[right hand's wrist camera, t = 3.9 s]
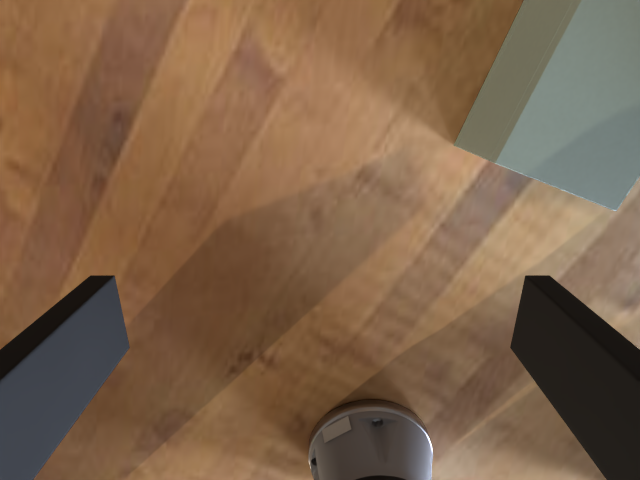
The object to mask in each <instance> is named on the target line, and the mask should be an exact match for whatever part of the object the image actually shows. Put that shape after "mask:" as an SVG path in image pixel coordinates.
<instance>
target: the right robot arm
mask: <svg viewBox="0 0 640 480" xmlns="http://www.w3.org/2000/svg"><path fill="white" fill-rule="evenodd" d="M129 348H130V347H129V342H128V337H127V333H126V328H125V323H124V318H123V314H122V309H121V304H120V299H119V294H118V290H117V285H116V280H115V276H89V277H88V278H87V279H86V280H85V281H83V282H82V283H81V284H80V285H79V286H77V287H76V288H75V289H74V290H72V291H71V292H70V293H69V294H68V295H66V296H65V297H64V298H63V299H62V300H60V301H59V302H58V303H57V304H55V305H54V306H53V307H52V308H51V309H49V310H48V311H47V312H46V313H44V314H43V315H42V316H41V317H40V318H38V319H37V320H36V321H35V322H34V323H32V324H31V325H30V326H29V327H27V328H26V329H25V330H24V331H23V332H21V333H20V334H19V335H18V336H16V337H15V338H14V339H13V340H12V341H10V342H9V343H8V344H7V345H6V346H4V347H3V348H2V349H1V350H0V480H33V479H34V478H35V476H36V475H37V474H38V472H39V471H40V470H41V468H42V467H43V465H44V464H45V463H46V461H47V460H48V459H49V457H50V456H51V454H52V453H53V452H54V450H55V449H56V448H57V446H58V445H59V444H60V442H61V441H62V439H63V438H64V437H65V435H66V434H67V433H68V431H69V430H70V428H71V427H72V426H73V424H74V423H75V422H76V420H77V419H78V418H79V416H80V415H81V413H82V412H83V411H84V409H85V408H86V407H87V405H88V404H89V402H90V401H91V400H92V398H93V397H94V396H95V394H96V393H97V392H98V390H99V389H100V387H101V386H102V385H103V383H104V382H105V381H106V379H107V378H108V376H109V375H110V374H111V372H112V371H113V370H114V368H115V367H116V366H117V364H118V363H119V361H120V360H121V359H122V357H123V356H124V355H125V353H126V352H127V350H128V349H129ZM510 348H511V349H512V350H513V352H514V353H515V355H516V356H517V357H518V359H519V360H520V361H521V363H522V364H523V366H524V367H525V368H526V370H527V371H528V372H529V374H530V375H531V376H532V378H533V379H534V381H535V382H536V383H537V385H538V386H539V387H540V389H541V390H542V392H543V393H544V394H545V396H546V397H547V398H548V400H549V401H550V402H551V404H552V405H553V407H554V408H555V409H556V411H557V412H558V413H559V415H560V416H561V418H562V419H563V420H564V422H565V423H566V424H567V426H568V427H569V428H570V430H571V431H572V433H573V434H574V435H575V437H576V438H577V439H578V441H579V442H580V444H581V445H582V446H583V448H584V449H585V450H586V452H587V453H588V454H589V456H590V457H591V459H592V460H593V461H594V463H595V464H596V465H597V467H598V468H599V470H600V471H601V472H602V474H603V475H604V476H605V478H606V479H607V480H640V350H639V349H638V348H637V347H636V346H634V345H633V344H632V343H631V342H630V341H628V340H627V339H626V338H625V337H624V336H622V335H621V334H620V333H619V332H617V331H616V330H615V329H614V328H613V327H611V326H610V325H609V324H608V323H606V322H605V321H604V320H603V319H602V318H600V317H599V316H598V315H597V314H596V313H594V312H593V311H592V310H591V309H589V308H588V307H587V306H586V305H585V304H583V303H582V302H581V301H580V300H578V299H577V298H576V297H575V296H574V295H572V294H571V293H570V292H569V291H568V290H566V289H565V288H564V287H563V286H561V285H560V284H559V283H558V282H557V281H555V280H554V279H553V278H552V277H551V276H525V280H524V285H523V290H522V294H521V299H520V304H519V309H518V314H517V318H516V323H515V328H514V333H513V337H512V342H511V347H510ZM432 455H433V452H432V446H431V442H430V439H429V436H428V432H427V430H426V427H425V426H424V424H423V423H422V421H421V420H420V419H419V418H418V417H417V416H416V415H415V414H414V413H413V412H411V411H410V410H408V409H407V408H405V407H403V406H400V405H398V404H395V403H392V402H388V401H381V400H362V401H356V402H351V403H348V404H345V405H342V406H340V407H338V408H336V409H334V410H332V411H331V412H329V413H328V414H327V415H325V416H324V417H323V418H322V419H321V420H320V421H319V422H318V423H317V425H316V426H315V428H314V430H313V431H312V434H311V437H310V441H309V465H310V469H311V472H312V475H313V478H314V480H431V472H432Z"/></svg>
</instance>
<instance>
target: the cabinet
mask: <svg viewBox="0 0 640 480" xmlns="http://www.w3.org/2000/svg"><path fill="white" fill-rule="evenodd" d="M454 146H456V147H458V148H461V149H463V150H465V151H467V152H470V153H472V154H474V155H477V156H479V157H481V158H484V159H486V160H488V161H491V162H493V163H495V164H498V165H500V166H503V167H505V168H508V169H510V170H513V171H516V172H518V173H521V174H523V175H526V176H528V177H531V178H533V179H536V180H538V181H541V182H543V183H546V184H548V185H551V186H553V187H556V188H558V189H561V190H563V191H566V192H568V193H571V194H573V195H576V196H579V197H581V198H584V199H586V200H589V201H591V202H594V203H596V204H599V205H601V206H604V207H606V208H609V209H611V210H614V211H617V209H618V208H619V206H620V205H621V203H622V202H623V200H624V199H625V197H626V196H627V194H628V193H629V191H630V190H631V188H632V187H633V185H634V184H635V182H636V181H637V179H638V178H639V176H640V0H524V1H523V3H522V5H521V7H520V9H519V11H518V13H517V15H516V17H515V19H514V22H513V24H512V26H511V28H510V30H509V32H508V34H507V36H506V38H505V40H504V42H503V44H502V46H501V48H500V50H499V52H498V55H497V57H496V59H495V61H494V63H493V65H492V67H491V69H490V71H489V73H488V75H487V77H486V79H485V81H484V83H483V86H482V88H481V90H480V92H479V94H478V96H477V98H476V100H475V102H474V104H473V106H472V108H471V110H470V112H469V114H468V116H467V119H466V121H465V123H464V125H463V127H462V129H461V131H460V133H459V135H458V137H457V139H456V141H455V143H454Z"/></svg>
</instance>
